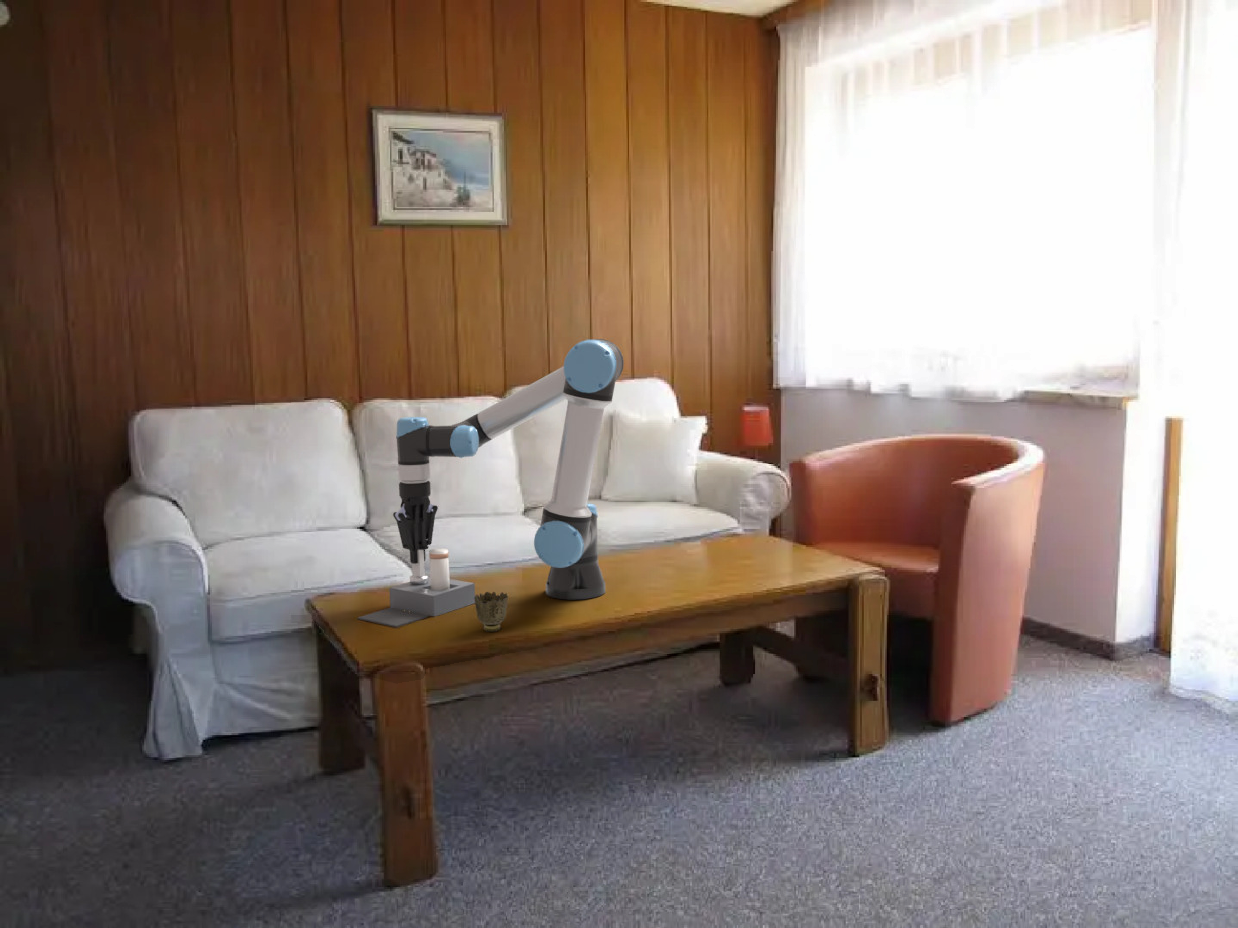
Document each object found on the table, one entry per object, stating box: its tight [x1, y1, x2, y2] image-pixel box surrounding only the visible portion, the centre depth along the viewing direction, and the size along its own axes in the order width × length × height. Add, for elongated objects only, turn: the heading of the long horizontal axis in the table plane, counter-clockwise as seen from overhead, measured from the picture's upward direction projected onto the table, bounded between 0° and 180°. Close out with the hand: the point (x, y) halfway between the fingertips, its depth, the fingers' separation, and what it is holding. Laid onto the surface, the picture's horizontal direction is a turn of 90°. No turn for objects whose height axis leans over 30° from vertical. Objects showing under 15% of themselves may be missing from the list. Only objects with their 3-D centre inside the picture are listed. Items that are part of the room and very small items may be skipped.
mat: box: [357, 607, 429, 629], centre depth 248 cm, size 13×10×1 cm
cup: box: [474, 591, 508, 633], centre depth 236 cm, size 8×7×8 cm
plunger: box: [409, 574, 429, 585], centre depth 260 cm, size 4×4×6 cm
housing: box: [388, 575, 476, 618], centre depth 258 cm, size 15×14×5 cm
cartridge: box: [428, 548, 450, 592], centre depth 256 cm, size 5×5×14 cm
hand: (418, 575), depth 260 cm, fingers closed
